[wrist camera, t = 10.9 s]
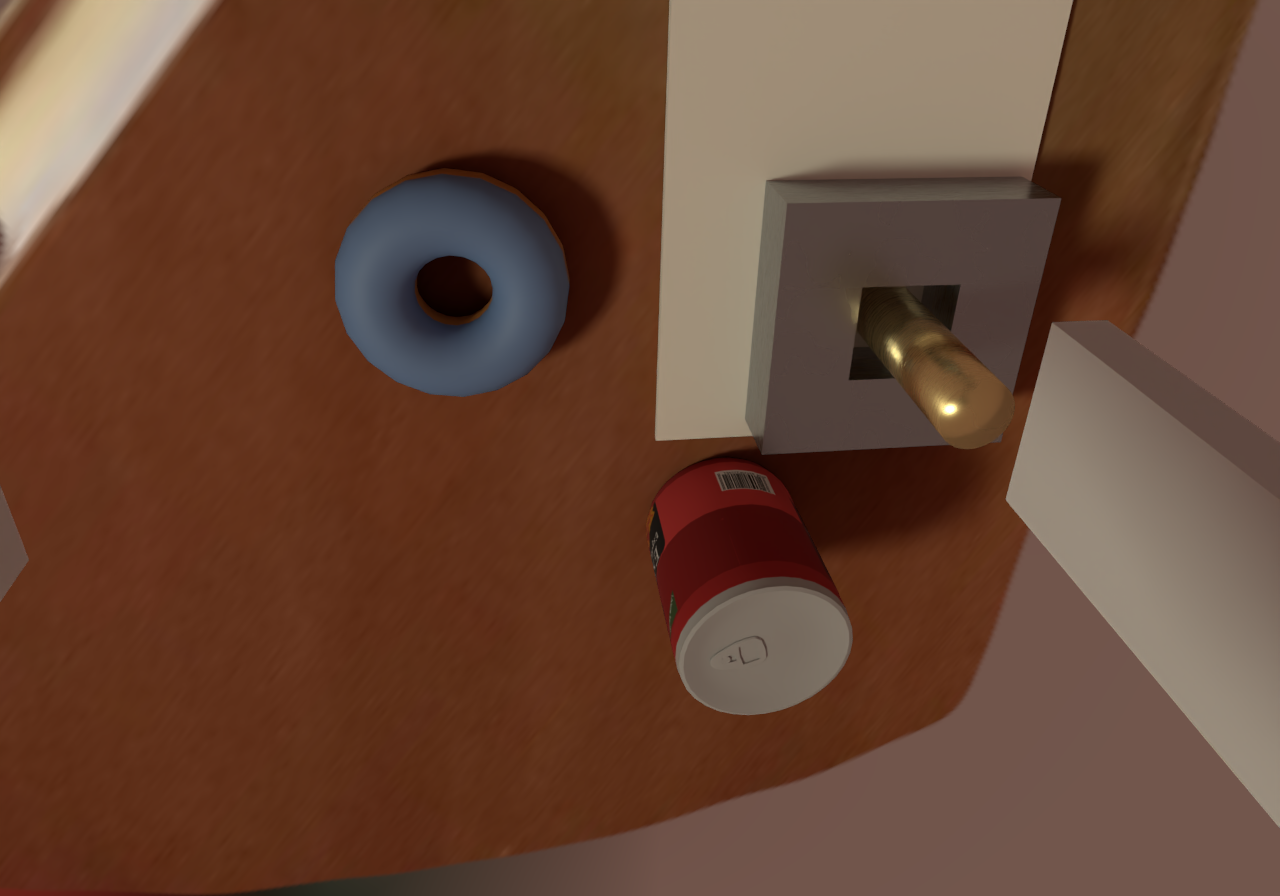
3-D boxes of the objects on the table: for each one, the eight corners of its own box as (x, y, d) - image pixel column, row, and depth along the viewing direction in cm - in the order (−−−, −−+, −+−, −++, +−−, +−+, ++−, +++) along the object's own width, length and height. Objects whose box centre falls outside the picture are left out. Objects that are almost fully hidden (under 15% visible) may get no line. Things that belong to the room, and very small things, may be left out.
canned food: (617, 501, 50) (646, 644, 40) (749, 425, 48) (811, 555, 39) (686, 592, 54) (727, 742, 44) (810, 524, 52) (880, 664, 43)
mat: (675, -176, 35) (677, -177, 34) (1104, -162, 37) (1110, -162, 37) (655, 436, 48) (656, 440, 48) (971, 421, 50) (975, 424, 50)
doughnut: (312, 342, 43) (308, 385, 39) (365, 125, 39) (366, 149, 35) (521, 391, 47) (535, 435, 43) (588, 197, 43) (611, 227, 39)
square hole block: (765, 180, 42) (787, 203, 39) (1022, 176, 43) (1061, 197, 40) (744, 419, 48) (761, 454, 45) (969, 408, 49) (1000, 442, 46)
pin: (851, 274, 44) (947, 381, 35) (911, 273, 45) (1023, 379, 36) (841, 333, 46) (931, 450, 37) (900, 332, 46) (1004, 447, 37)
